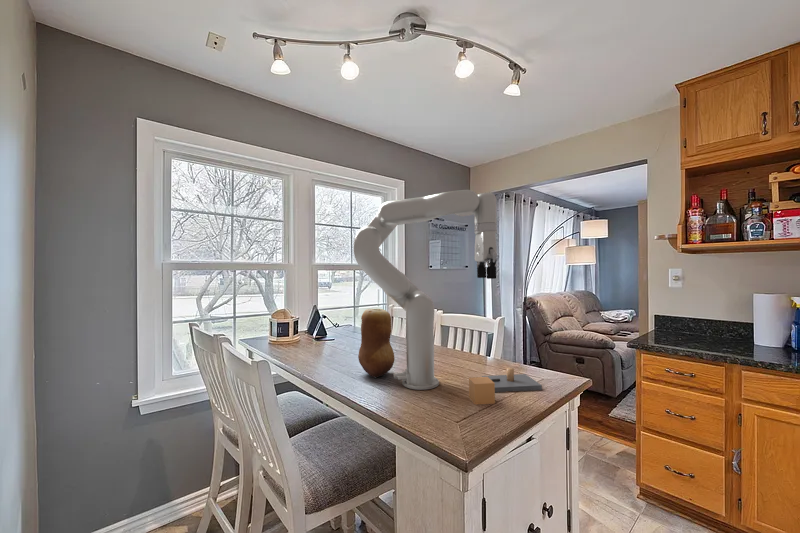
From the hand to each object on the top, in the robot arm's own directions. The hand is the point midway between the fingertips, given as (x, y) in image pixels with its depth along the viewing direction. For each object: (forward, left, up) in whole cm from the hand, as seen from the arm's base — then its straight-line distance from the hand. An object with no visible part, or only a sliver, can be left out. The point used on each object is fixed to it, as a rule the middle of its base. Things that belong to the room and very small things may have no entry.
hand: (486, 278), depth 123 cm
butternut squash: (-39, +13, -36) cm, 55 cm away
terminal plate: (+6, -4, -36) cm, 37 cm away
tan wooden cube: (-8, -16, -36) cm, 40 cm away
